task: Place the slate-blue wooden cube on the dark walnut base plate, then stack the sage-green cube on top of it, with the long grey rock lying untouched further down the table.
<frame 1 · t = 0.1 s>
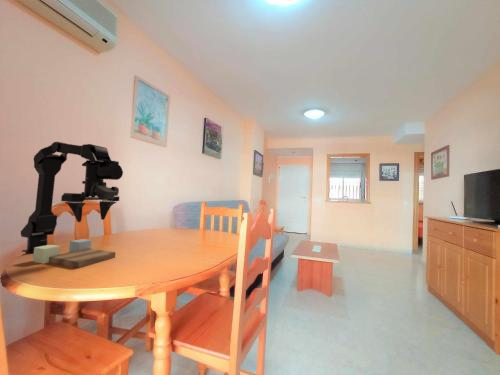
hand: (91, 220, 85), 14 cm above the table, tool pointing down, fingers open, 9 cm apart
sage block: (46, 260, 81), on the table
slate block: (79, 253, 93), on the table
walnut base: (83, 259, 84), on the table
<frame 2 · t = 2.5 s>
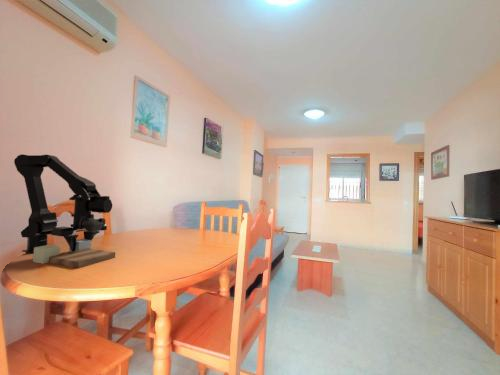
hand: (80, 250, 93), 1 cm above the table, tool pointing down, fingers closed on slate block, 5 cm apart
slate block: (79, 252, 93), on the table, touching gripper
everything else where it was.
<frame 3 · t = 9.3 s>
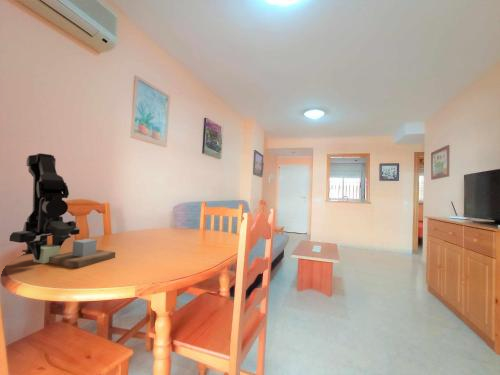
hand: (46, 257, 81), 1 cm above the table, tool pointing down, fingers closed on sage block, 5 cm apart
sage block: (46, 260, 81), on the table, touching gripper
slate block: (84, 254, 84), point 2 cm above the table, touching walnut base
when the fingers open (9 cm above the table, at t = 12.1 s): sage block moves 1 cm, resting on slate block.
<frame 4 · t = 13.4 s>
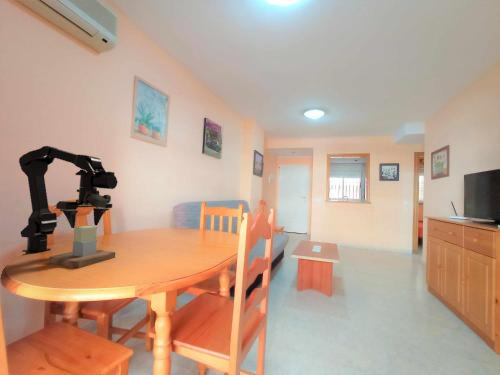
hand: (84, 226, 91), 11 cm above the table, tool pointing down, fingers open, 9 cm apart
sage block: (84, 240, 85), point 7 cm above the table, touching slate block
slate block: (84, 254, 84), point 2 cm above the table, touching sage block, walnut base
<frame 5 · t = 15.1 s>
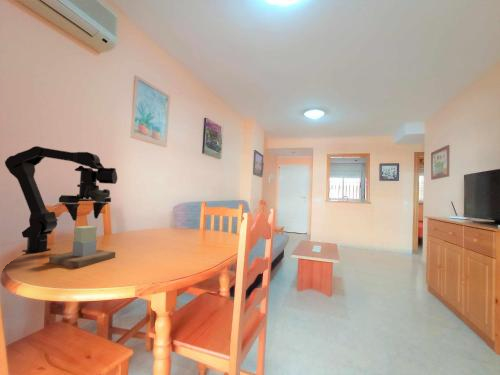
hand: (85, 219, 97), 13 cm above the table, tool pointing down, fingers open, 9 cm apart
nothing on the table moved.
at the end: slate block inside the target area on the walnut base (0.0 cm from its centre), point 2.0 cm above the walnut base's base; sage block inside the target area on the walnut base (0.6 cm from its centre), point 7.0 cm above the walnut base's base; sage block tilted 0° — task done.
